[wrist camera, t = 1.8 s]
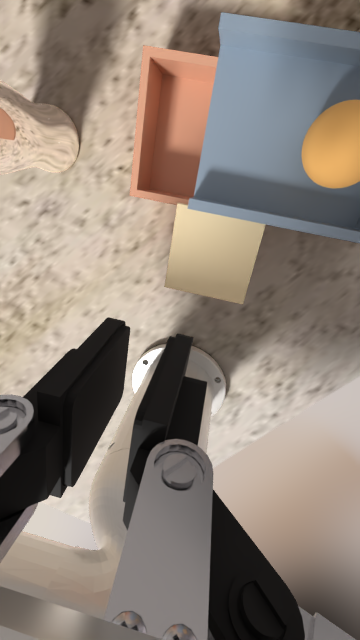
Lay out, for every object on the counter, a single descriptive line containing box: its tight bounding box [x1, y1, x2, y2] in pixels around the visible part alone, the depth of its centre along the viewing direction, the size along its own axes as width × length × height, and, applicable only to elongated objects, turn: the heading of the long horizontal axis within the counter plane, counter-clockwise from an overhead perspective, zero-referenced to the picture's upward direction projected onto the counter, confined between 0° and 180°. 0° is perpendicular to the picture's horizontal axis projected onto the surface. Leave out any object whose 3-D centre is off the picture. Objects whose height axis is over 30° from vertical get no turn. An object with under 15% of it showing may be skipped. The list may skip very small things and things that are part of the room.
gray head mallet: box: [164, 12, 360, 304], centre depth 20 cm, size 19×15×7 cm
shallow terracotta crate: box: [130, 45, 218, 205], centre depth 27 cm, size 11×11×5 cm
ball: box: [302, 100, 360, 189], centre depth 16 cm, size 4×4×4 cm
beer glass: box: [0, 79, 79, 175], centre depth 25 cm, size 7×7×15 cm
